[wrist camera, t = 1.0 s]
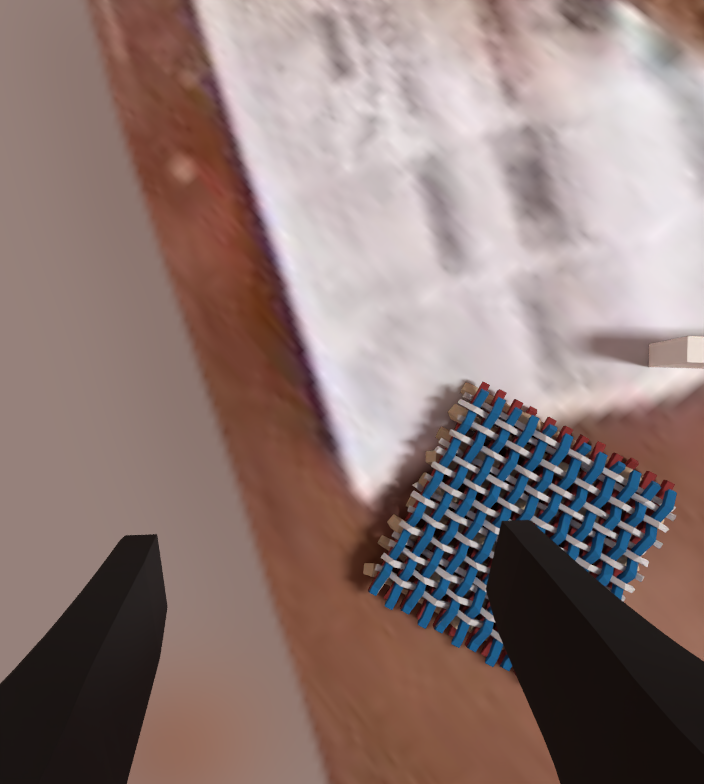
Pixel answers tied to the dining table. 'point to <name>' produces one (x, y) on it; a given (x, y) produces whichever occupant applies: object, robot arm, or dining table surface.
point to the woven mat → (514, 515)
